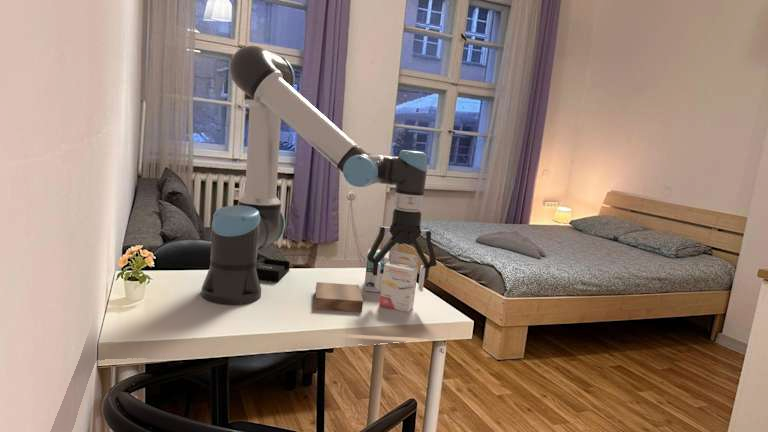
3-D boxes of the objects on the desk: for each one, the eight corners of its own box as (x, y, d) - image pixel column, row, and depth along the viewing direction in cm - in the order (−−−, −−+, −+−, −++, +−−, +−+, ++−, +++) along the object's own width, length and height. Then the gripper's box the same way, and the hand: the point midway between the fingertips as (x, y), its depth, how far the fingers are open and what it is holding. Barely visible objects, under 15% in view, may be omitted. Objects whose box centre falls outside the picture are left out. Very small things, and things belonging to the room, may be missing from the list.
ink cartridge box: (378, 306, 142) (384, 253, 140) (384, 301, 147) (390, 250, 144) (408, 312, 139) (415, 259, 137) (413, 307, 144) (420, 255, 142)
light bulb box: (386, 293, 154) (389, 258, 152) (363, 291, 154) (366, 255, 152) (386, 283, 164) (390, 250, 163) (365, 281, 164) (368, 247, 163)
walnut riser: (315, 309, 134) (316, 298, 134) (315, 292, 148) (316, 282, 147) (361, 312, 136) (363, 301, 135) (357, 295, 149) (358, 285, 149)
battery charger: (278, 284, 152) (279, 271, 152) (245, 280, 153) (246, 267, 152) (289, 273, 165) (290, 261, 164) (259, 269, 166) (260, 257, 165)
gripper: (364, 207, 133) (356, 289, 137) (454, 215, 137) (444, 295, 140) (362, 203, 141) (354, 281, 144) (447, 211, 144) (438, 287, 147)
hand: (398, 288), depth 142 cm, fingers open, 11 cm apart
